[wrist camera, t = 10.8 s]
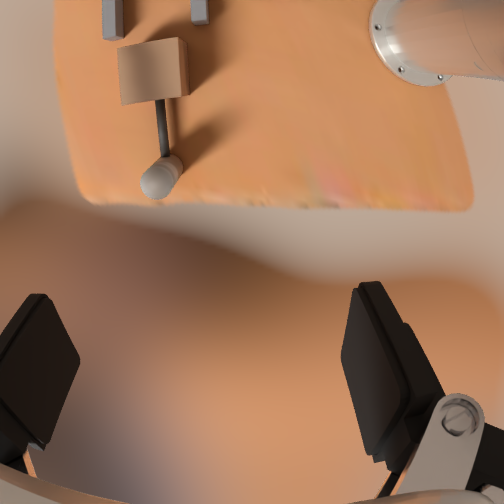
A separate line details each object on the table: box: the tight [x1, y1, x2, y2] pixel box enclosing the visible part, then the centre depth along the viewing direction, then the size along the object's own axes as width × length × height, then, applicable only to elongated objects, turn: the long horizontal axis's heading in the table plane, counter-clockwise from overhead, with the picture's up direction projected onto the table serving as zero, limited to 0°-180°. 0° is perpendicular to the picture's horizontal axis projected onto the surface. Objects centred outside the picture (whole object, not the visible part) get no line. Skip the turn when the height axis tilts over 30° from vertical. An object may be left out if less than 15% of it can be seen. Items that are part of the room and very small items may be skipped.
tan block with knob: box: [117, 37, 190, 200], centre depth 29 cm, size 6×16×6 cm, turn 2°
